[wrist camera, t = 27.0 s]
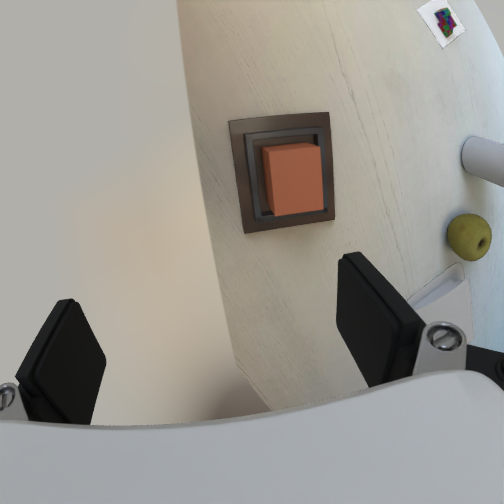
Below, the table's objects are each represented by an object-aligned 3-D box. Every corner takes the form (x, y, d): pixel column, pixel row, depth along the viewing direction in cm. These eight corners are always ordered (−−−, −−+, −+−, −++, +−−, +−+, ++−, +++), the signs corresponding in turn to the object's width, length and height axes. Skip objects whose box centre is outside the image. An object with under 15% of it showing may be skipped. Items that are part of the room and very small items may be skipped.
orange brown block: (260, 146, 34) (268, 152, 30) (306, 141, 35) (320, 146, 30) (267, 203, 37) (275, 216, 33) (310, 197, 38) (323, 209, 33)
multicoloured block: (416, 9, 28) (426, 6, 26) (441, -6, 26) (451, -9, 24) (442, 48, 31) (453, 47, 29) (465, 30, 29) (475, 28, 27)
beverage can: (463, 130, 37) (519, 144, 26) (485, 142, 38) (537, 159, 27) (455, 167, 39) (509, 189, 29) (477, 177, 41) (528, 199, 30)
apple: (463, 248, 46) (488, 266, 40) (434, 247, 45) (460, 267, 39) (474, 209, 43) (501, 224, 37) (445, 204, 42) (474, 220, 36)
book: (461, 257, 47) (474, 267, 44) (470, 327, 57) (479, 337, 53) (399, 304, 49) (410, 317, 46) (420, 365, 59) (427, 377, 56)
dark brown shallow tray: (228, 121, 33) (229, 121, 31) (326, 112, 34) (333, 112, 32) (243, 231, 40) (245, 238, 37) (332, 217, 40) (339, 223, 38)
